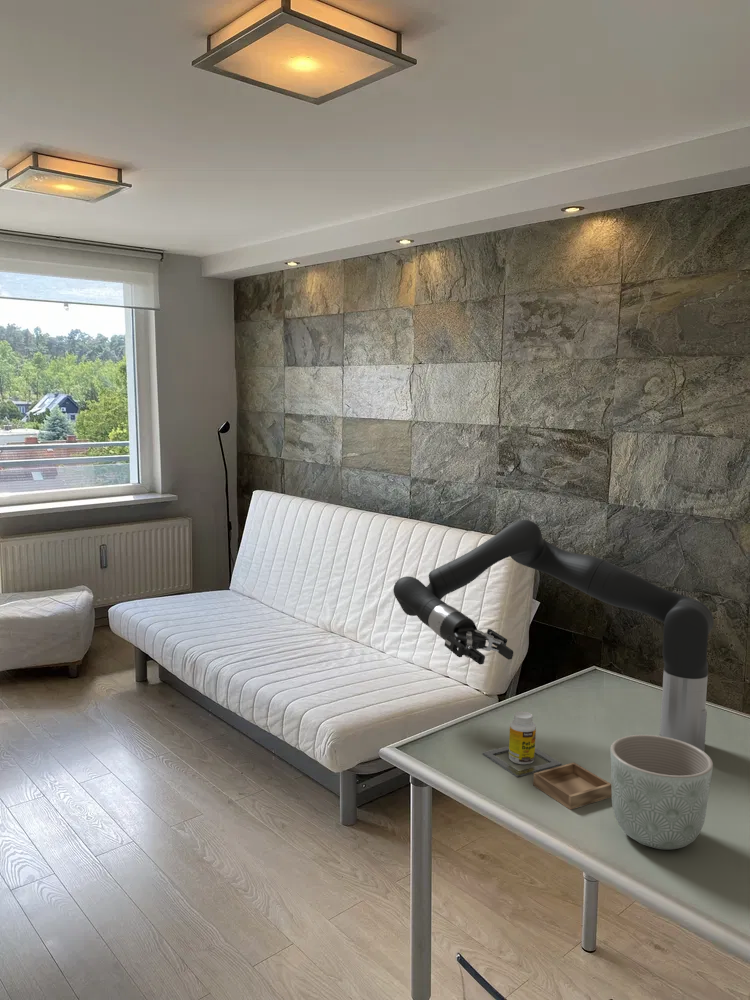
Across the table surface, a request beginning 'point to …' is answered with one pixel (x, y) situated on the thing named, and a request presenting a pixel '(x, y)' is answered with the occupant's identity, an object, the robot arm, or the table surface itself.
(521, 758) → the supplement bottle
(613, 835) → the table surface
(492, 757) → the grey square frame
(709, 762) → the planter
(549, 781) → the tray
